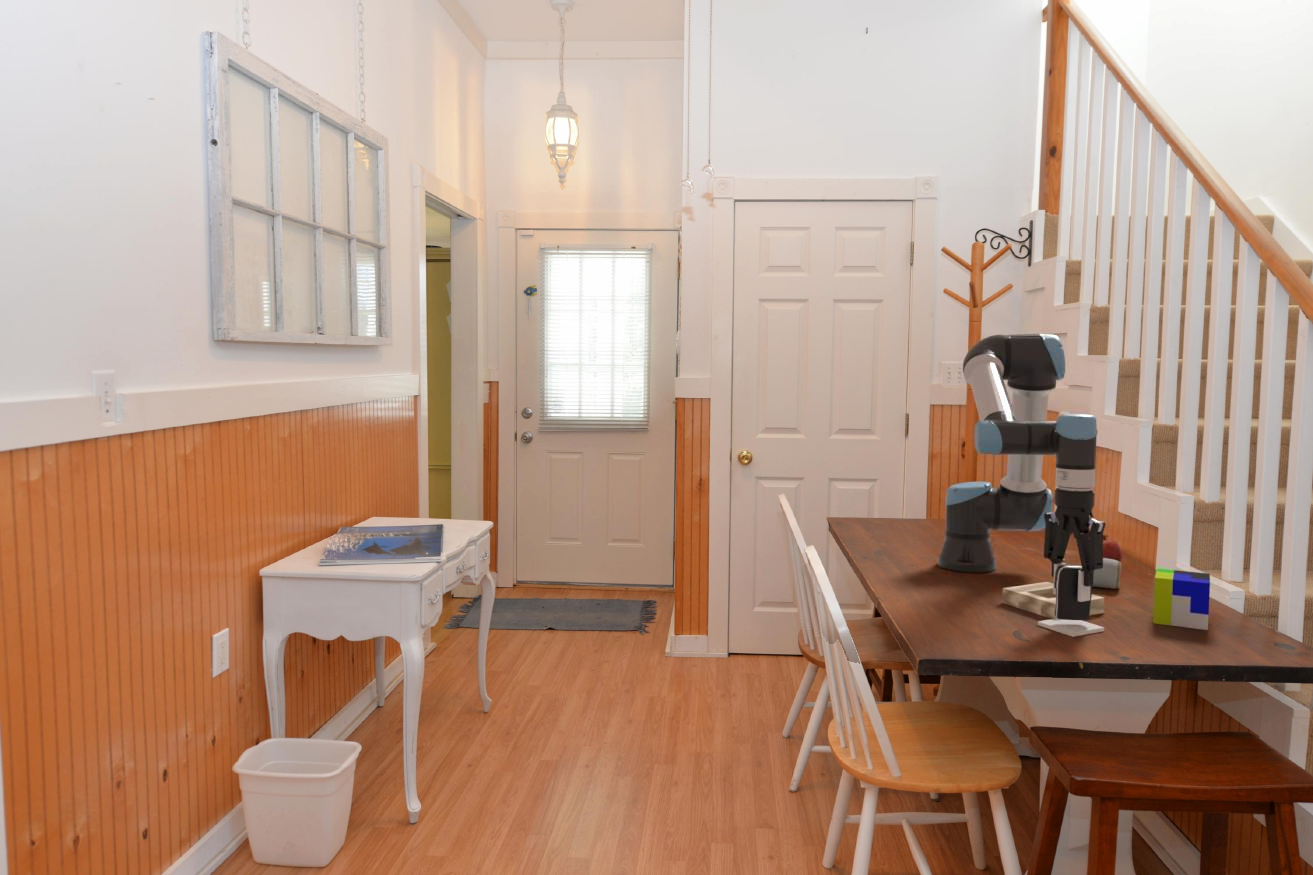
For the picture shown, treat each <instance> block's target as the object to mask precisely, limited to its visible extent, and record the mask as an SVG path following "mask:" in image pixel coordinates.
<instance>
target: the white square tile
mask: <svg viewBox="0 0 1313 875" xmlns="http://www.w3.org/2000/svg"><path fill="white" fill-rule="evenodd" d="M1037 626H1039V627H1042V628H1045V629H1049V630H1052V631H1054V632H1057V633H1061V634H1062V635H1067V636H1069V637H1073V638H1074V637H1079V636H1080V637H1081V636H1085V635H1090V634H1096V633H1101V632H1105V627H1103V626H1100V625H1097V624H1095V623H1091V622H1088V621H1086V620H1063V619H1057V618H1056V619H1051V618H1049V619H1045V620H1039V621H1037Z"/></svg>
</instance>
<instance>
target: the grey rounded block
mask: <svg viewBox="0 0 1313 875" xmlns="http://www.w3.org/2000/svg"><path fill="white" fill-rule="evenodd" d="M1121 574H1122V561H1121V562H1119V561H1117V560H1113V559H1107V558H1103V568H1102V569H1096V570H1094V576H1093V586H1092V588H1100V589H1101V588H1102V589H1109V588H1110V589H1114V590H1115V589H1119V588H1120V585H1121V577H1122V576H1121ZM1110 589H1109V590H1110Z"/></svg>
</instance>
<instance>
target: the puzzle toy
mask: <svg viewBox="0 0 1313 875" xmlns="http://www.w3.org/2000/svg"><path fill="white" fill-rule="evenodd" d="M1153 589H1154V590H1153V591H1154V592H1153V594H1154V596H1153V614H1152V616H1153V618H1152V619H1153V620H1152V623H1153V624H1158V625H1166V626H1174V627H1180V628H1182V627H1183V628H1189V629H1197V630H1202V631H1203V630H1205V631H1208V630H1209V617H1210V616H1209V612H1210V592H1211V591H1210V589H1211V574H1210V573H1206V572H1199V571H1198V572H1195V571H1185V570H1176V569H1169V568H1167V569H1166V568H1156V572H1155V576H1154V588H1153Z"/></svg>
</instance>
